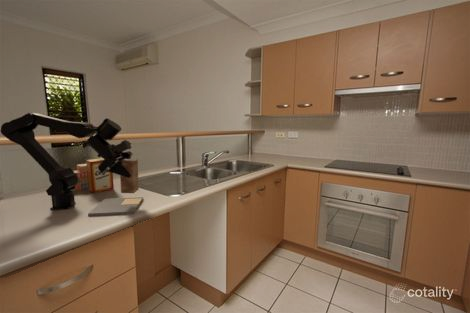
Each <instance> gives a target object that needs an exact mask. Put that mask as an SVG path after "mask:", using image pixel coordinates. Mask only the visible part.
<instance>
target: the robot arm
mask: <svg viewBox="0 0 470 313" xmlns="http://www.w3.org/2000/svg"><path fill="white" fill-rule="evenodd" d="M38 126H41V127H42V126H43V127H46V128H50V129H54V130H59V131H63V132H64V133H67V134H68V135H70V136H73V137H75V138H77V139H83V138H84V139H85V138H87V140H86V139H85V140H82V148H83V149H85V148H89V147H90V148H91V149H92V150H93V151H94V152H95V153H97V155H96V156H97V157H98V158H103V159H104V161H103V162H102V163H101V164H100V165H99V166H98V170H100V171H101V172H102V173H103V172H106V171H107V168H108V167H109V170H108V172H111V173H113V174H116V175H118V176H120V175H121V176H124V177H127V178H130V177H131V175H130V174H129V173H128V171H127V170H126V169H125V168H124V167H123V166H122V160H124V159H132V156H133V155H134V154H133V153H132V151H130V149H132V146H131V145H132V143H131V142H130V141H129V140H126V139H125V140H122V141H120V143H118V144H110V143H109V141H112V140H113V139H114V138H115V137H117V135H118V134H119V133H120V132H121V131H122V127H121V126H120V124H119V123H116V122H115V121H113V120H111V119H110V118H107V117H106V118H104V119H103V121H102V122H101V123H100V124H99V125H98V126H94V125H93V123H90V122H81V121H80V122H79V121H69V120H65V119H60V118H56V117H53V116H48V115H46V114H41V113H39V112H28V113H26V114H24V115H22V116H20V117H17V118H15V119H11V120H10V121H8V122H7V121H6V122H4V123H2V125H1V127H0V133H1V134H2V135H3V137H5V138H6V139H7V140H9V141H10V142H13V143H15V144H17V145H19V146H20V147H22V149H24V151H26V153H27V154H29V156H30V157H31V158H32V159H33V160H34V161H35V162H36V163H37V164H38V165H39V166H40V167H41V168H42V169H43V171H45V172H46V173H47V175H48V180H49V183H50V186H48V188H47V189H46V190H45V191H46V194H47V196H51V205H52V207H50V208H49V209H50V210H51V211H52V210H68V209H70V208H71V207H73V206H75V205H76V204H77V202H76V200H75V194H74V191H70V190H73V189H75V185H76V184H77V182H78V177H77V176H76V175H77V174H76V173H74V172H73V171H74V170H73V169H72V168H71V167H68V166H67V167H63V166H61V165H60V164H59V163H58V161H57V160H55V158H54V157H53V156H52V155H51V154H50V153H49V152H48V151H47V150H46V149H45V148H44V147H43V145H42V144H41V143H40V142H39V141H38V140H37V139H36V137H35V131H34V130H36V129H37V128H38ZM108 140H109V141H108Z"/></svg>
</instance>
